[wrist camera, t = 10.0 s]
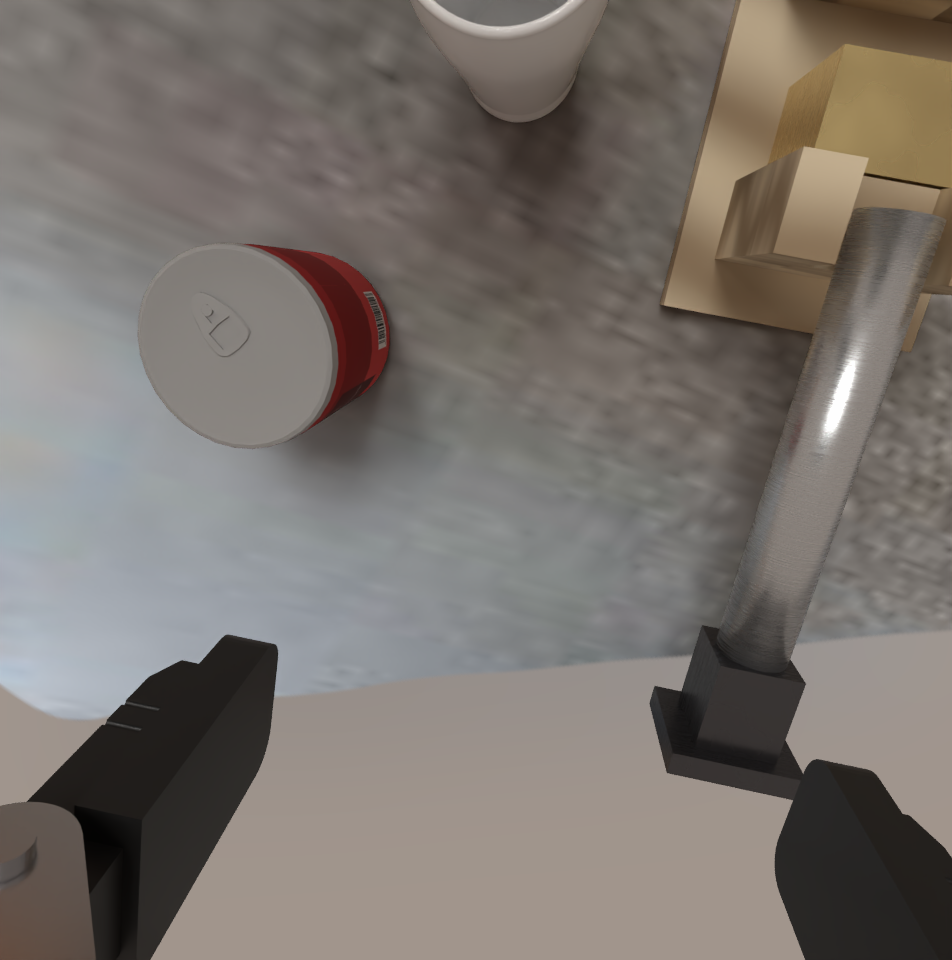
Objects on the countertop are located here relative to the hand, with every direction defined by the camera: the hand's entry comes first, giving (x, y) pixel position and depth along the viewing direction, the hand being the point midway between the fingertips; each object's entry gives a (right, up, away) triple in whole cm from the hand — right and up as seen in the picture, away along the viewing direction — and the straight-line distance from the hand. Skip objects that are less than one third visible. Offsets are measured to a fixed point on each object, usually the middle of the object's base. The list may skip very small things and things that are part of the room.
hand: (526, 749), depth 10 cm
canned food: (-9, +12, +27) cm, 31 cm away
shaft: (+12, +3, +20) cm, 24 cm away
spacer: (+15, +18, +18) cm, 30 cm away
